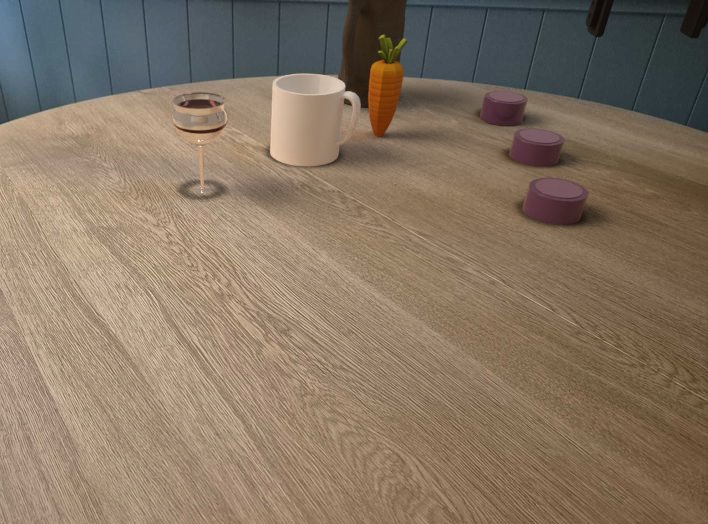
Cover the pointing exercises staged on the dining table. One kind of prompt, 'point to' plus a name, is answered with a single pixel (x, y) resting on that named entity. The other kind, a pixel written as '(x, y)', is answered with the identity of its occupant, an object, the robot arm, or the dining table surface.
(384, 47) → the carrot
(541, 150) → the dish
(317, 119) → the mug
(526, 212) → the dish
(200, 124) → the wineglass
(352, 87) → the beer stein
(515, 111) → the dish
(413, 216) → the dining table surface
